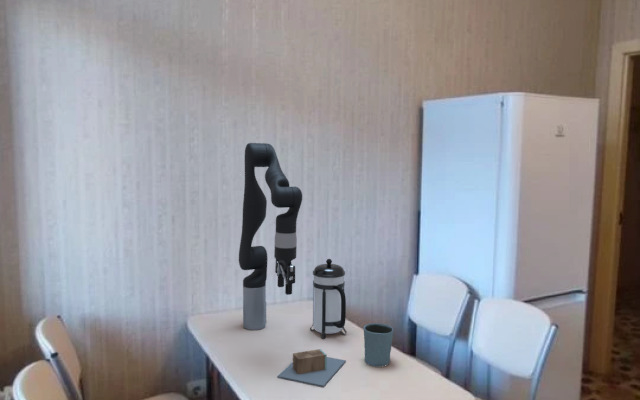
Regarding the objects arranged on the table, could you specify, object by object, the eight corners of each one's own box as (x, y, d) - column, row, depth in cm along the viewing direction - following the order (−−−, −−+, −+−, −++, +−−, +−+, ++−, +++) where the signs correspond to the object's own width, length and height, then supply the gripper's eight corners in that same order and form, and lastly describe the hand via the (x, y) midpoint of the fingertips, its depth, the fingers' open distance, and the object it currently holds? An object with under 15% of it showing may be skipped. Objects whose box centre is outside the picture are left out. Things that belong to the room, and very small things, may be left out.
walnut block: (292, 353, 164) (320, 349, 168) (292, 367, 165) (320, 363, 168) (298, 359, 159) (326, 354, 163) (297, 374, 160) (326, 369, 164)
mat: (303, 354, 177) (303, 352, 177) (345, 362, 171) (345, 360, 171) (277, 377, 159) (277, 375, 159) (323, 387, 153) (323, 385, 152)
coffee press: (302, 337, 193) (302, 261, 190) (317, 323, 208) (318, 253, 205) (344, 344, 186) (345, 266, 183) (357, 330, 201) (358, 257, 198)
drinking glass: (357, 358, 174) (358, 325, 173) (383, 353, 178) (383, 321, 177) (372, 369, 165) (372, 335, 164) (398, 365, 169) (399, 331, 168)
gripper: (303, 248, 164) (301, 295, 167) (289, 239, 177) (288, 283, 180) (281, 250, 162) (280, 298, 164) (268, 240, 175) (268, 285, 177)
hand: (284, 290), depth 172 cm, fingers open, 8 cm apart
